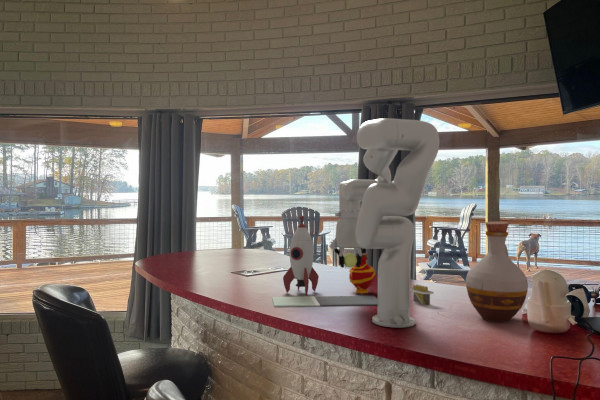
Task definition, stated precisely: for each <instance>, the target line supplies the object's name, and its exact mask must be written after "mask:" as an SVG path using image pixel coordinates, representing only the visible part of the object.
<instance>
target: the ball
mask: <svg viewBox="0 0 600 400" xmlns="http://www.w3.org/2000/svg"><path fill="white" fill-rule="evenodd" d="M343 256H344V267H345V266H346V267H347V268H352V267H353V266H355V265H356V263H357V258H356V255H355V254H354V253H351V252H348V253H346V254H344V255H343Z"/></svg>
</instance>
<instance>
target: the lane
mask: <svg viewBox="0 0 600 400" xmlns="http://www.w3.org/2000/svg"><path fill="white" fill-rule="evenodd" d="M271 298H272V303H273V307H274V308H286V307H287V308H289V307H291V308H292V307H295V308H297V307H298V306H299V308H300V306H305V307H357V306H360V307H362V306H363V307H364V306H367V307H368V306H372V307H373V306H378V297H376V296H375V295H337V296H336V295H326V296H325V295H324V296H323V295H321V296H317V295H316V296H313V295H312V296H308V295H307V296H272V297H271Z"/></svg>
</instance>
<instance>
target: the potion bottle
mask: <svg viewBox="0 0 600 400" xmlns="http://www.w3.org/2000/svg"><path fill="white" fill-rule="evenodd" d="M368 255H369V254H368V253H365V252H364V253H363V254H362V256H361V265H360V267H356V265H355V266H353V267H351V268H350V269H349V271H348V272H349V277H348V279H349V283H351V285H353V286H354V287H355V288H356V289H355V291H354V292H355V293H358V294H368V293H369V291H368V289H369V288H370V287H371V286H372V285H373V283H374V282H375V279H376V271H375V269H374V267H373V266H371V265H369V264H368V262H367V261H368V259H369V257H368Z"/></svg>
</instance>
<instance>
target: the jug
mask: <svg viewBox="0 0 600 400" xmlns="http://www.w3.org/2000/svg"><path fill="white" fill-rule="evenodd" d="M509 224H510V223H509V222H508V221H487V222H485V226H486V227H485V228H486V229H487V231H485V236H487V241H488V251H487V254H486V255H484V256H483V257H482V258H481V259H480V260H479V261H478V262H477V263H476V264H475V265H473V266H472V267H471V268H470V269H469V271H468V272H467V274H466V278H465V286H466V292H467V296H468V298H469V301H470V303H471V305H472V307H474V309H475V310H476V312H477V313H478V315H479V316H480V317H481V318H482V319H483V320H485V321H489V322H495V323H496V322H497V323H506V322H510V321H511V320H512V319H513V318H514V317H515V316H516V315H517V313H518V312H519V311H521V309H522V308H523V305H524V304H525V301H526V298H527V295H528V289H529V282H528V278H527V276H526V274H525V273H524V271H523V270H521V268H520V267H519V266H517V264H515V262H514V261H512V260H511V258H510V257H509V252H508V250H509V249H508V247H507V244H506V240H507V237H508V235H509V231H507V230H508V227H509Z"/></svg>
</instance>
